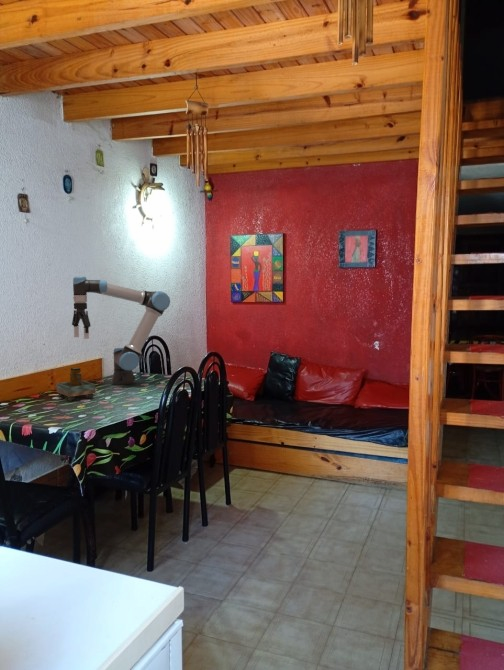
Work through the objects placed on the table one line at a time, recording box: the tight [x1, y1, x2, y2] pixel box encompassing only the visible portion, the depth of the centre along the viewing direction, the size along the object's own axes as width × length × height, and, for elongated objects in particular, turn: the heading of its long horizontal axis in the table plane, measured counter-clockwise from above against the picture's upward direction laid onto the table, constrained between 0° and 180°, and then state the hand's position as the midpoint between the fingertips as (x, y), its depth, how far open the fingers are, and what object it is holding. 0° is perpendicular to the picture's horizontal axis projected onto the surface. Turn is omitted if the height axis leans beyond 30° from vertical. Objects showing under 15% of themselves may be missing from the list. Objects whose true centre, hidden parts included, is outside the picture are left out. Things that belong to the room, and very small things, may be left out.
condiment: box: [69, 366, 83, 387], centre depth 296 cm, size 7×8×12 cm
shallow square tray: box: [56, 380, 96, 402], centre depth 298 cm, size 15×17×8 cm
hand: (81, 338), depth 319 cm, fingers open, 13 cm apart
